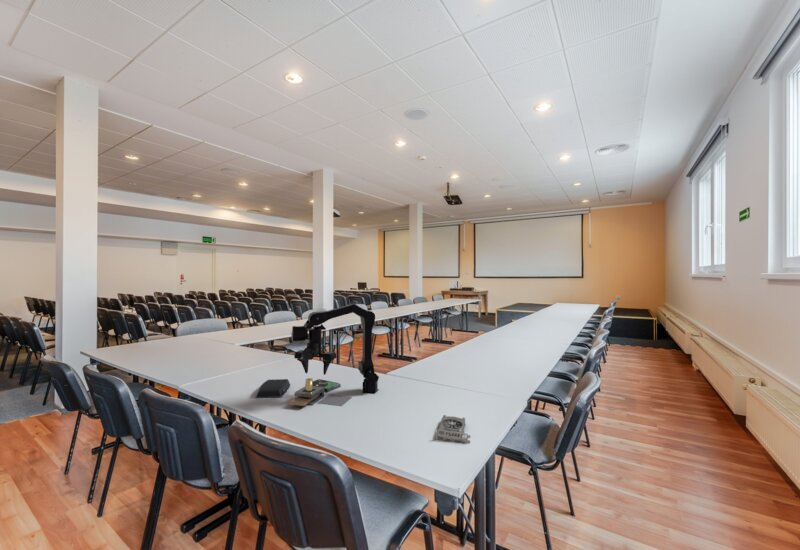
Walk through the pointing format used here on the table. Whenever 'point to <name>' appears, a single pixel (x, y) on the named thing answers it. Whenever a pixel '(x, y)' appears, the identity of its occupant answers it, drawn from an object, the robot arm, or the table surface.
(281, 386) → the external hard drive
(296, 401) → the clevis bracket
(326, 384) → the disk drive
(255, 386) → the table surface
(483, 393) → the table surface
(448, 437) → the graphics card
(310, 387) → the brass pin
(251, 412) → the table surface
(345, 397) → the rubber mat
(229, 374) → the table surface
